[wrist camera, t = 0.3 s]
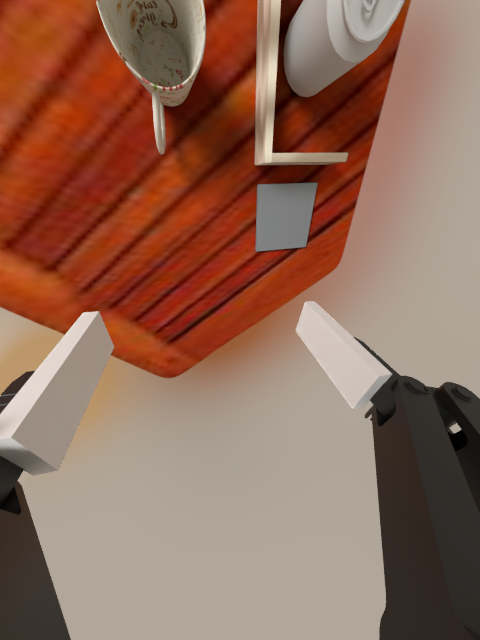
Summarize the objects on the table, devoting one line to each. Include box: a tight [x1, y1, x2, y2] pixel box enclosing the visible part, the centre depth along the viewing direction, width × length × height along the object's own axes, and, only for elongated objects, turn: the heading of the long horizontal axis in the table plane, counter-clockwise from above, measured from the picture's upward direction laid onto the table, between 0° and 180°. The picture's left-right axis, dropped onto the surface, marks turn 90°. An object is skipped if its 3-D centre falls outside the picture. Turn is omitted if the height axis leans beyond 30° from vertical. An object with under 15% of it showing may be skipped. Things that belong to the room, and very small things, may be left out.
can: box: [283, 0, 405, 97], centre depth 20 cm, size 8×8×12 cm
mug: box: [96, 0, 206, 154], centre depth 20 cm, size 8×13×10 cm, turn 170°
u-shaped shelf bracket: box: [255, 0, 348, 165], centre depth 22 cm, size 22×13×5 cm, turn 1°
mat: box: [256, 183, 317, 252], centre depth 35 cm, size 11×11×1 cm
